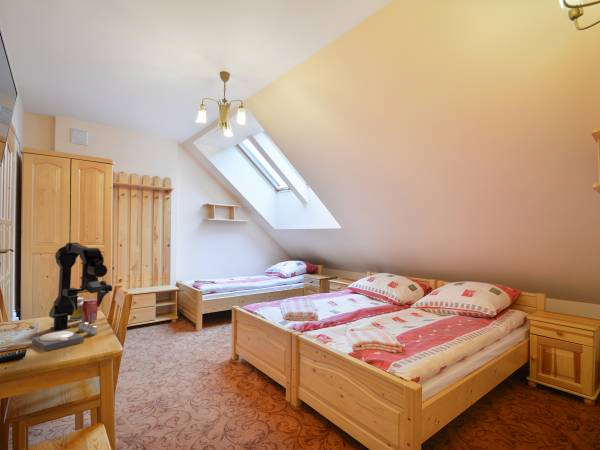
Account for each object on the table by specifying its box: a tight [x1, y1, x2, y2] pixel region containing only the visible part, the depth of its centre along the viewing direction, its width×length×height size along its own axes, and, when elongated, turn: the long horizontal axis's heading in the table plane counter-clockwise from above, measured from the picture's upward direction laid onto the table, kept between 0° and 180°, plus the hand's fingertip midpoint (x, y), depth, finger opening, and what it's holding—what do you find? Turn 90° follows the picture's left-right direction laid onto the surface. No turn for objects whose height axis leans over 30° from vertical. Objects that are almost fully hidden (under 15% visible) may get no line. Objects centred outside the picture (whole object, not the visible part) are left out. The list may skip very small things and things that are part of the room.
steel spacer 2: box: [85, 324, 99, 337], centre depth 150 cm, size 4×4×4 cm
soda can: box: [81, 298, 99, 324], centre depth 171 cm, size 7×7×12 cm
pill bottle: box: [69, 297, 84, 321], centre depth 175 cm, size 6×6×12 cm
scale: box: [31, 330, 85, 352], centre depth 138 cm, size 15×14×3 cm
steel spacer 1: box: [77, 321, 90, 333], centre depth 155 cm, size 4×4×4 cm
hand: (87, 308), depth 144 cm, fingers open, 9 cm apart
